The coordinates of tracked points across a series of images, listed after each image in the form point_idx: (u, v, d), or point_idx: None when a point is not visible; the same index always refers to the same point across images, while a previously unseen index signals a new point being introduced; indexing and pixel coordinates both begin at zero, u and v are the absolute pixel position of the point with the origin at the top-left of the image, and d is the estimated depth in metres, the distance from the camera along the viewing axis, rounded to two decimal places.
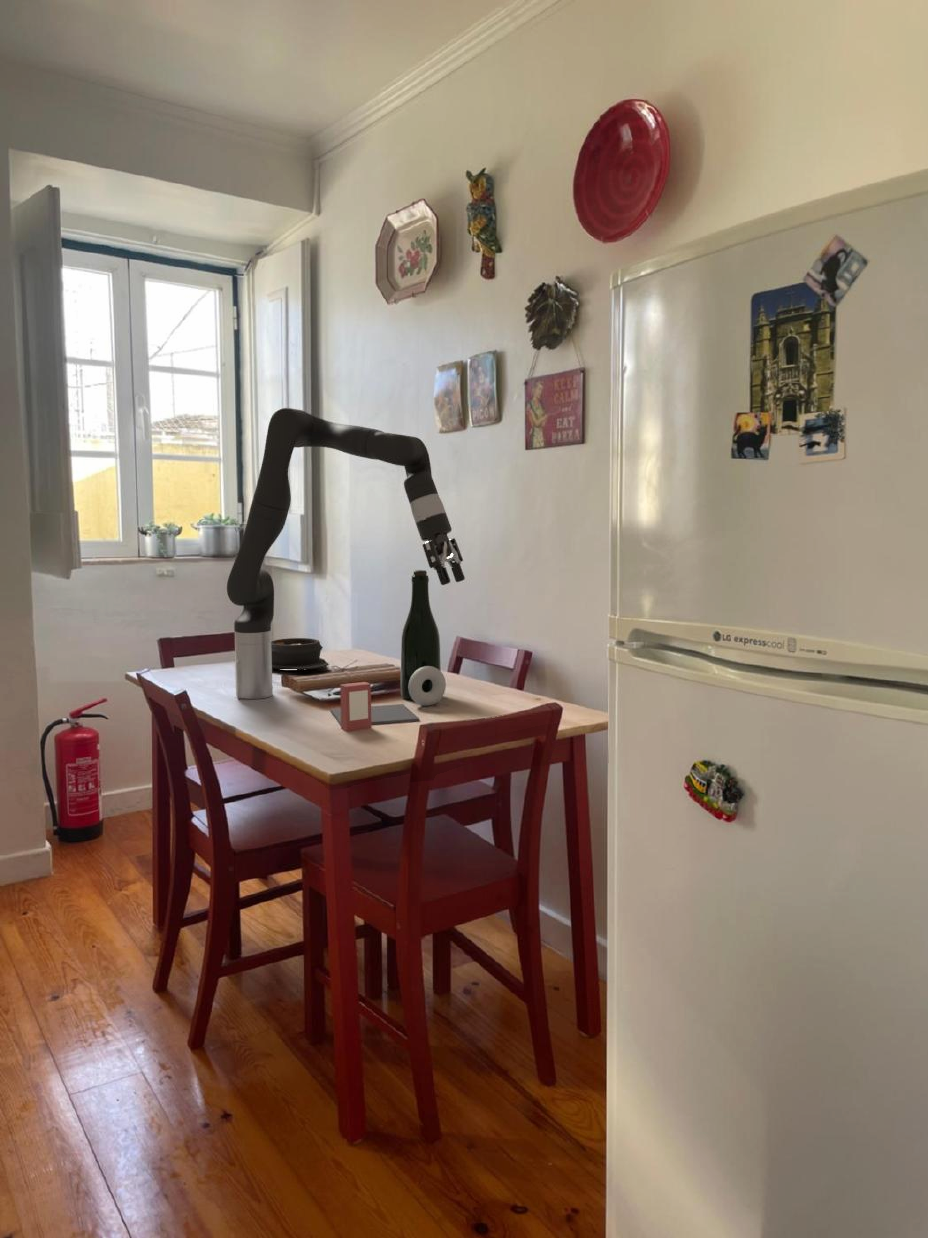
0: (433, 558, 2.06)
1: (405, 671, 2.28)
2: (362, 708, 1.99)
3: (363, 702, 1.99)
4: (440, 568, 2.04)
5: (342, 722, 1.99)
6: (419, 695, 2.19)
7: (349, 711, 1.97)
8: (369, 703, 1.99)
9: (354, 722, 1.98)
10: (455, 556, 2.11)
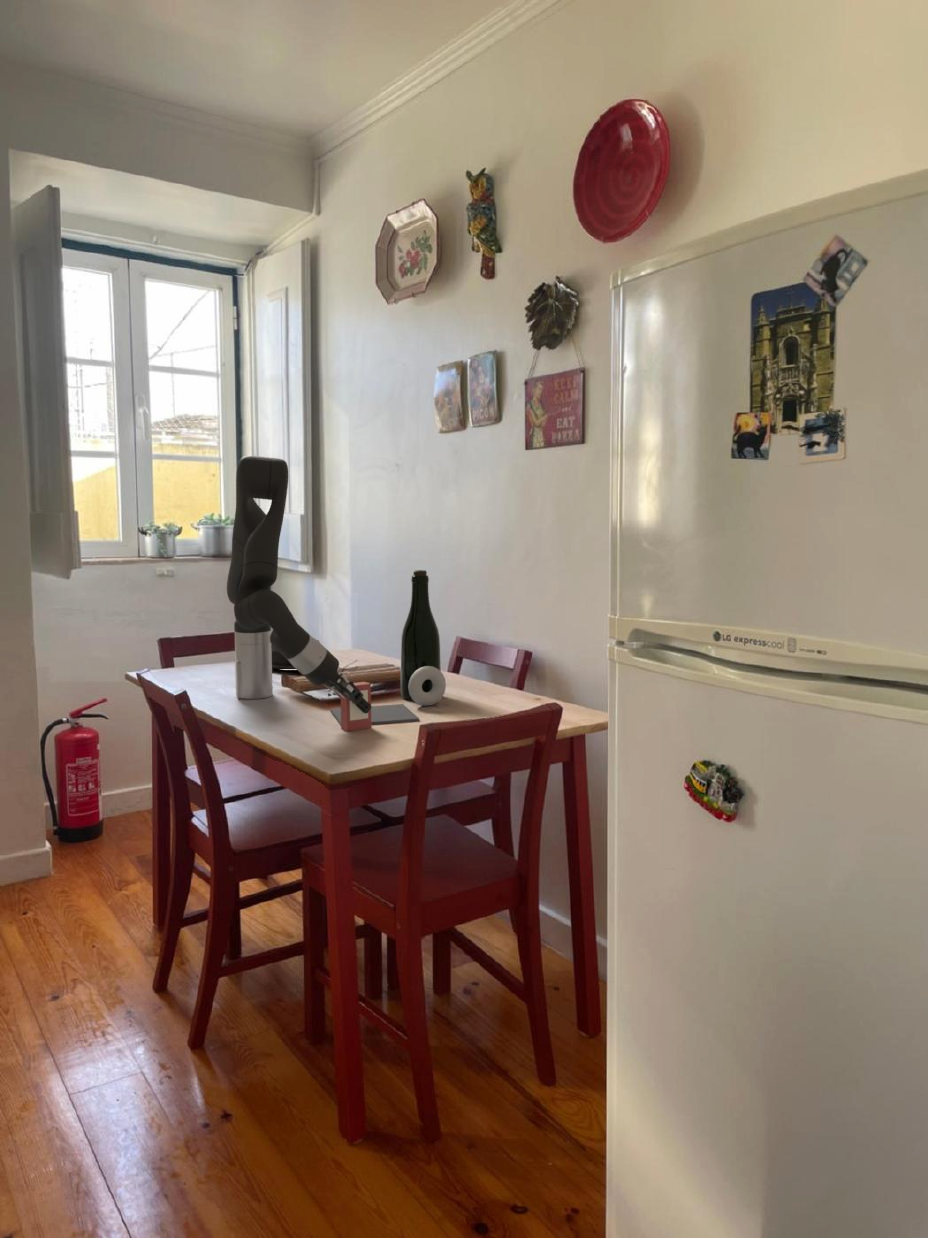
0: None
1: (405, 671, 2.28)
2: None
3: None
4: None
5: (342, 722, 1.99)
6: (419, 695, 2.19)
7: (349, 711, 1.97)
8: (369, 703, 1.99)
9: (354, 722, 1.98)
10: None
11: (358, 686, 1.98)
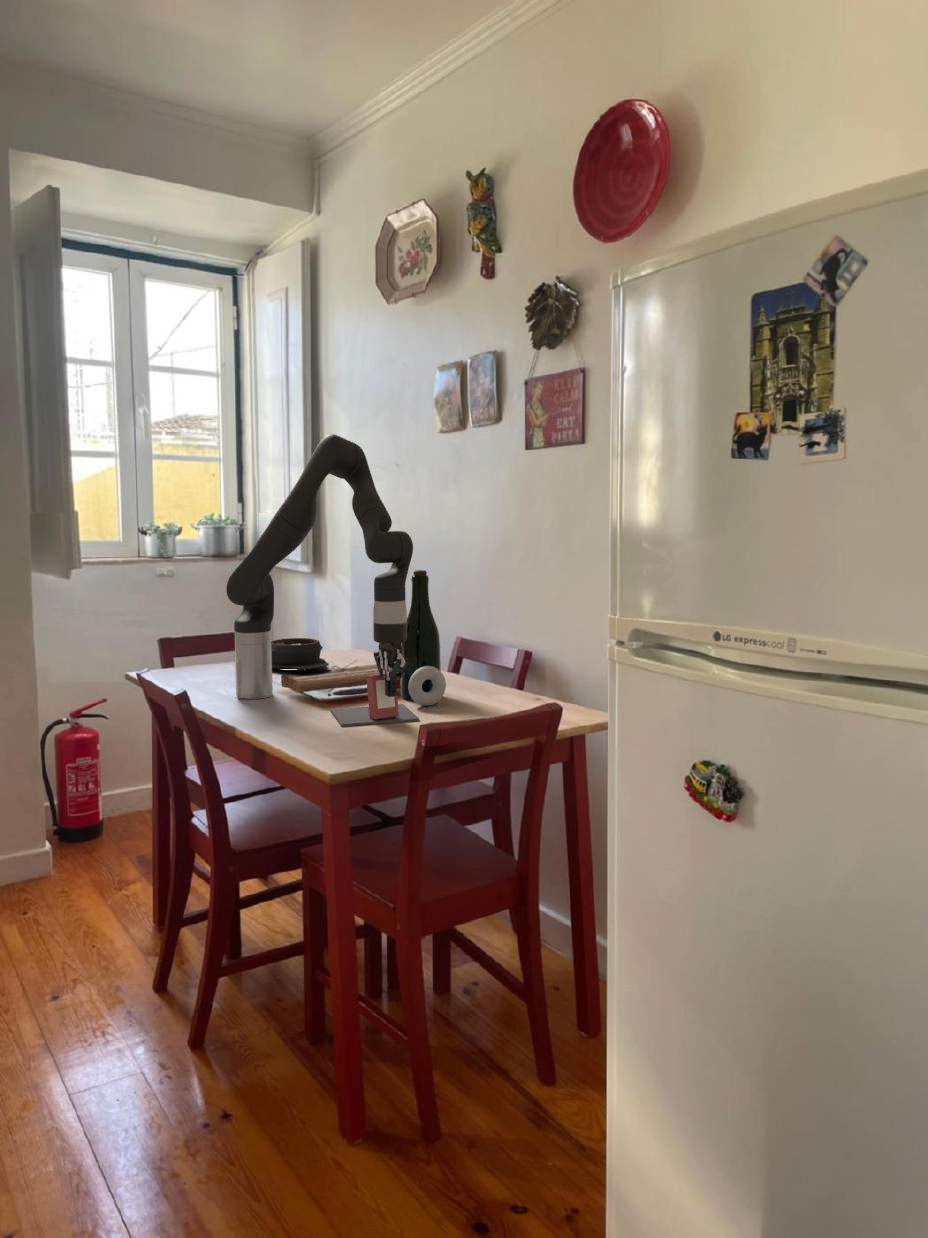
0: None
1: (405, 671, 2.28)
2: (389, 697, 2.06)
3: None
4: None
5: (370, 712, 2.06)
6: (419, 695, 2.19)
7: (376, 699, 2.04)
8: None
9: (382, 710, 2.05)
10: None
11: None
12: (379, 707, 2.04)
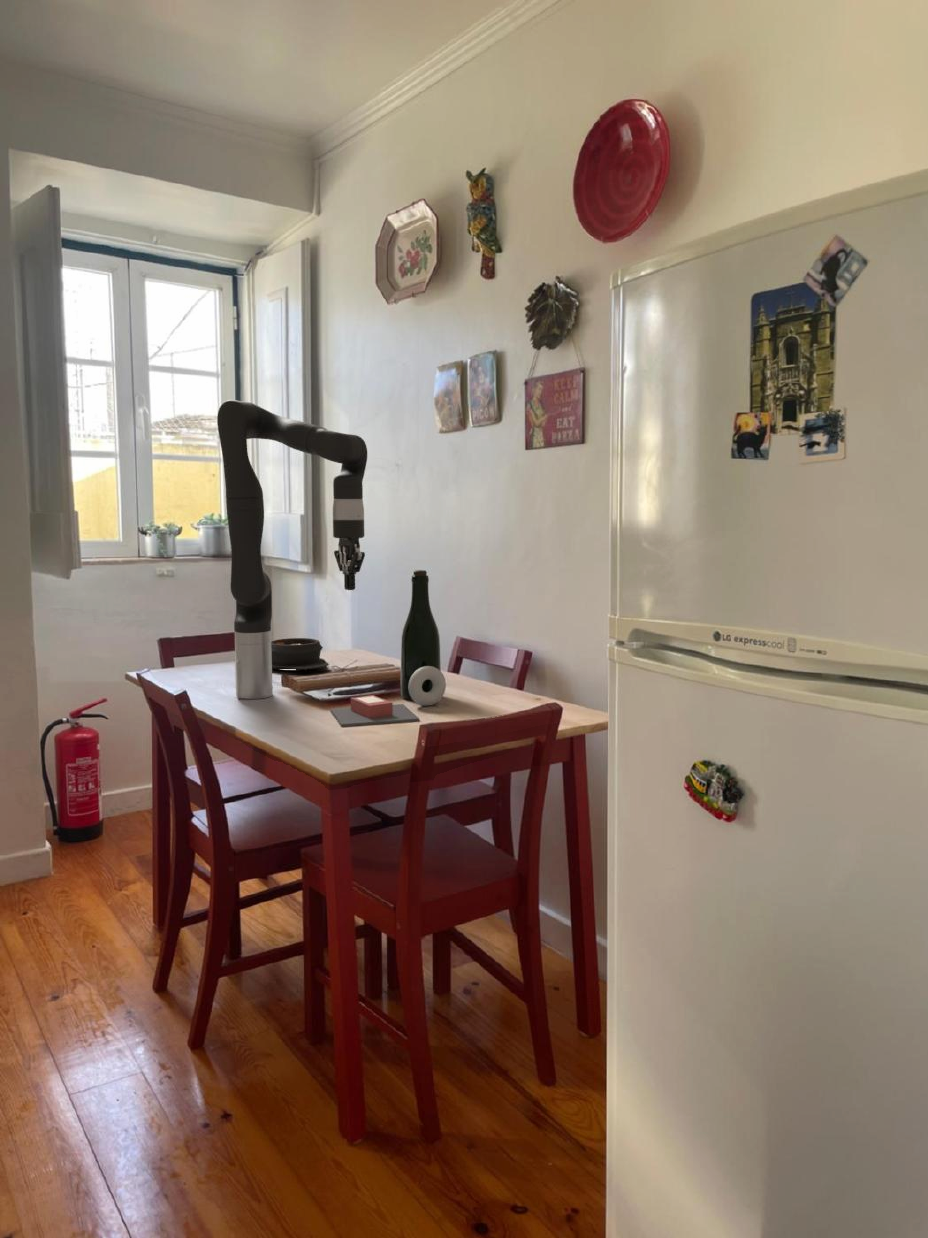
0: None
1: (405, 671, 2.28)
2: (375, 700, 2.12)
3: (374, 698, 2.13)
4: None
5: (366, 713, 2.08)
6: (419, 695, 2.19)
7: (363, 701, 2.10)
8: (380, 698, 2.14)
9: (373, 703, 2.08)
10: None
11: (362, 696, 2.16)
12: (369, 702, 2.09)
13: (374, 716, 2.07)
